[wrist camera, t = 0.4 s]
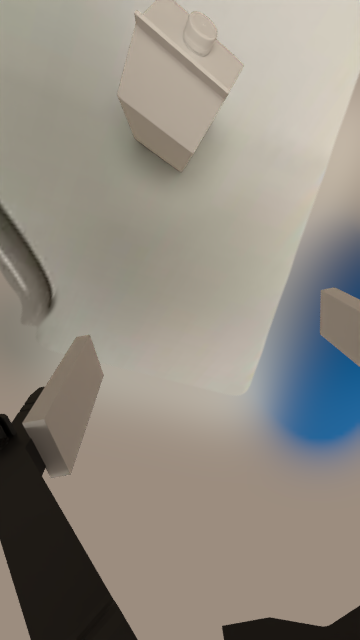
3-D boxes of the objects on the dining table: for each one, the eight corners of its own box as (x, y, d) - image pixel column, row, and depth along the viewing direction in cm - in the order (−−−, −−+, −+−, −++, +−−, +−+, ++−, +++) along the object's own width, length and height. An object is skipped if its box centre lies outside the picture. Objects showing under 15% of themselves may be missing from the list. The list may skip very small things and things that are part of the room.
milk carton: (181, 172, 37) (199, 144, 20) (134, 138, 35) (107, 73, 18) (211, 119, 35) (263, 34, 17) (163, 79, 33) (166, -60, 16)
